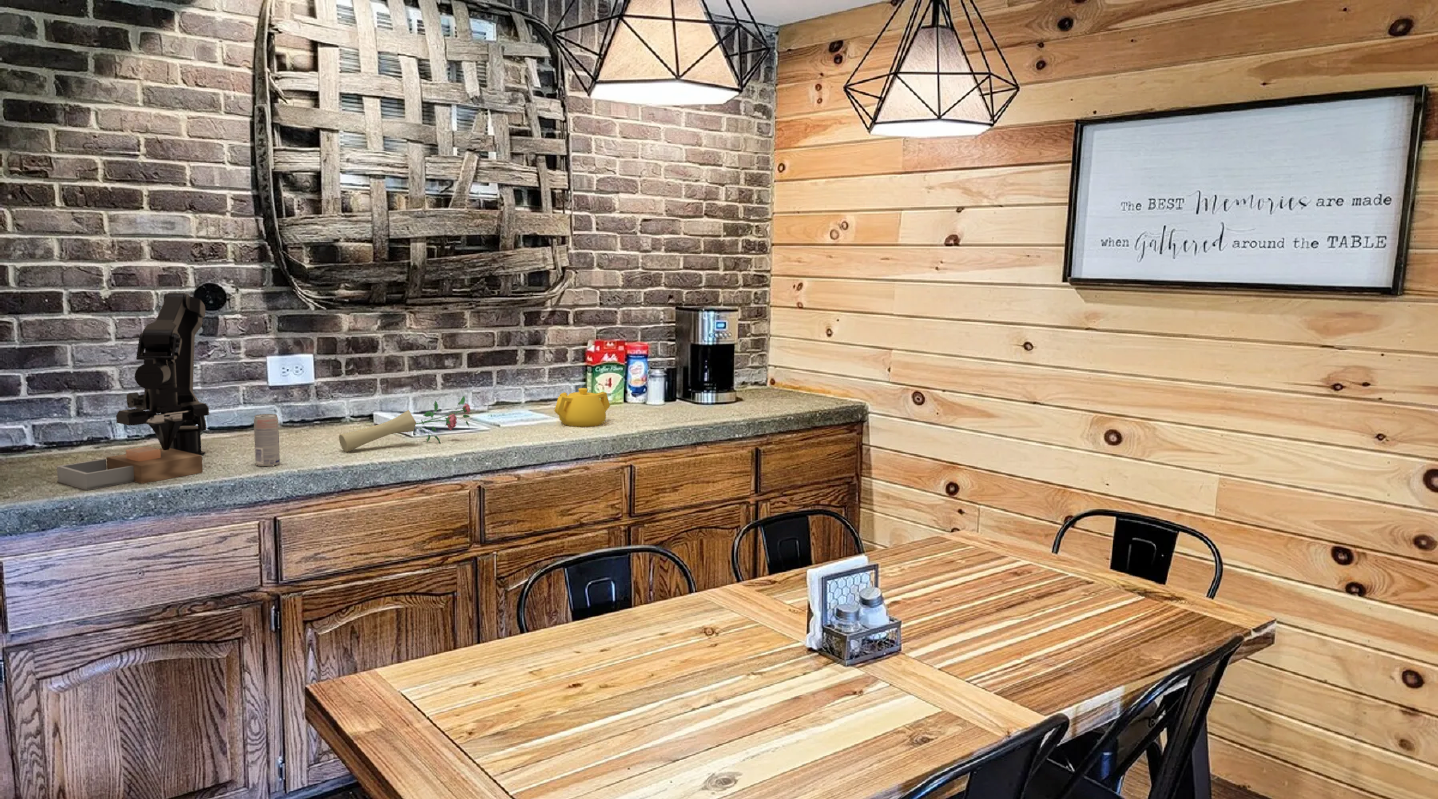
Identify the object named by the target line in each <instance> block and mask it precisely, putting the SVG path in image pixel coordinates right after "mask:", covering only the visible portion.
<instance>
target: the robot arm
mask: <svg viewBox="0 0 1438 799" xmlns="http://www.w3.org/2000/svg"><path fill="white" fill-rule="evenodd" d="M205 316H206V306H205V304H204V302H203V301H202V299H200V298H197V297H194V296H191V295H189V294H188V293H186V292H168V293H164V295H163V302H162V305H161V308H160V309H159V312H158V315H157V317H156V319H155V321H154V322H151V323H147V325H145V327H144V328H143V330H142V332H140V333H139V337H138V344H137V352H136V357H135V358H136V359H135V360H137V361H143V364H142V365H139V366H138V367H137V368H136V370H135V372H134V380H135V382H136V384H137V385H138V386H139V387H141V388H142V389H144V392H143V394H139V393H138V391H137V392H129V393H127V394H126V405H127V407H128V408H129V409H123V410H121V409H120V410H118V411H117V413H116V415H115V419H116V420H115V421H116V424H121V425H125V426H137V425H138V426H139V425H148V426H149V427H150V428H151V429H152V431H153V432H154V434H155V436H156V438H157V440H158V442H159V445H160V448H162V449H163V450H169V448H172V449H176V450H180V451H185V452H189V453H193V454H198V455H205V454H206V451H203V450H202V440H201V438H202V436H201V432H202V431H207V420H206V417H205V416H209V415H210V408H209V406H208V405H207V403H204V402H200V400H199V399H198V397H197V396H196V395H195V393H194V368H195V367H194V366H195V364H194V363H195V339H196V338H195V336H196V334H197V333H198V332H199V331H200V329H201V328H202V326H203V318H205Z"/></svg>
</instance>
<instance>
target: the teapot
mask: <svg viewBox="0 0 1438 799" xmlns="http://www.w3.org/2000/svg"><path fill="white" fill-rule="evenodd" d="M588 390H589V389H588V388H586V387H580V388H578V391H576V392H575V391H574V392H570V393H569V394H568V393H567V392H561V393H560V394H559V396H558V397H557V400H556V405H555V407H554V413H555V414H556V415H558V418H559V420H560V422H561V423H562V424H563V425H564V426H569V427H575V428H576V427H577V428H589V427H598V426H599V427H600V426H601V425H602V424H603V423H604V422H605V421H606V420H607V414H606V413H607V412H606V411H607V410H608V409H609V408H610V407H611V405H610V401H609V397H608V395H607V394H608V393H607V392H606V391H600V392H597V393H595V392H588Z"/></svg>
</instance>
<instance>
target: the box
mask: <svg viewBox="0 0 1438 799" xmlns="http://www.w3.org/2000/svg"><path fill="white" fill-rule="evenodd" d="M56 477H57V482H58V483H60V484H64V485H67V486H71V487H74V488H78V489H82V490H85V491H91V490H96V489H101V488H106V487H112V486H118V485H123V484H127V483H135V482H134V467H133V466H127V467H121V468H115V469H109V470H107V459H106V458H100V459H93V460H87V461H81V462H75V463H70V464H69V463H68V464H61V465H57V466H56Z"/></svg>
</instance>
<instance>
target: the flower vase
mask: <svg viewBox="0 0 1438 799" xmlns="http://www.w3.org/2000/svg"><path fill="white" fill-rule="evenodd" d="M457 399H458V400H459V401H458V403H457V406H461V405H463V407H462V408H461V409H460V410H457V411H456V412H450V413H449V414H446V415H442V416H439V417H436V418H435V417H434V416H435V413H436V412H437V411H438V409H439V404H438V402H437V401H436V400H434V404H433V408H434V411H433V412H432V411H430V410H428V411H426V412H425V413H424V414H423V417H425V419H424V421H423V419H421V422H416V420H415V418H414V416H413V415H412V413H411V412H410V410H409V409H407V410H406V411H404V412H402V413H401V414H400V415H398V416H396V417H394V418H393V419H390V420H387V421H385V422H383V423H379V424H377V425H373V426H369V427H366V428H362V429H357V430H354V431H353V430H352V431H350V432H345V433H340V434H339V435H338V441H339V444H340V446H341V448H342V450H343V452H344V453H348V452H351V451H353V450H355V449H357V448H360V447H361V446H364V445H366V444H368V443H370V442H373V441H376V440H378V439H381V438H384V437H387V436H390V435H394V434H399V433H410V432H411V433H412V432H414V430H415V428H416V429H420V430H422V431H423V433H424V434H426V432H425V430H424V429H423V428H421V427H417V426H416V425H420V424H422V425H423V426H424V427H425V428H426V429H427V431H428V432H427V433H428V435H427V439H426V443H427V442H429V441H430V440H431V435H430V434H432V433H431V431H433V432H437V429H436V427H434V426H432V427H431V431H430V428H428V427H427V426H425V424H428V423H437V422H446V423H445V425H444V427H447V429H448V430H449V431H452V430H453V429H455V428H456V427H457V423H458V421H457V419H458V420H459V421H462V422H464V423H465V424H466V425H467V426H468V427H470V424H469V421H468V420H466V421H464V420H461V419H463V418H464V419H466V418H470V413H471V406H470V405H469V404H468V403H465V401H466V397H465V395H463V396H462V397H461V398H460V397H458V398H457ZM460 412H463V415H462V417H461V418H458V417H457V416H456V414H457V413H460ZM427 417H430V418H431V419H428V420H426V418H427ZM441 418H444V419H441ZM439 419H440V420H439ZM433 437H434V438H435V439H436V440H437V442H438V443H439V444H441V441H440V438H439V437H438V436H437V435H433Z"/></svg>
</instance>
